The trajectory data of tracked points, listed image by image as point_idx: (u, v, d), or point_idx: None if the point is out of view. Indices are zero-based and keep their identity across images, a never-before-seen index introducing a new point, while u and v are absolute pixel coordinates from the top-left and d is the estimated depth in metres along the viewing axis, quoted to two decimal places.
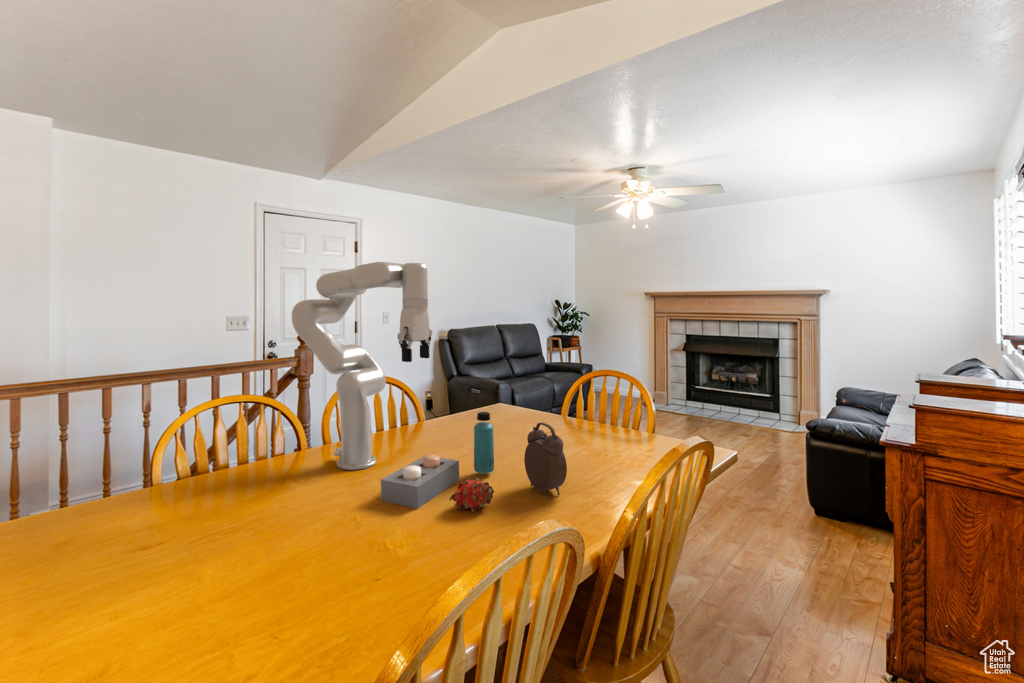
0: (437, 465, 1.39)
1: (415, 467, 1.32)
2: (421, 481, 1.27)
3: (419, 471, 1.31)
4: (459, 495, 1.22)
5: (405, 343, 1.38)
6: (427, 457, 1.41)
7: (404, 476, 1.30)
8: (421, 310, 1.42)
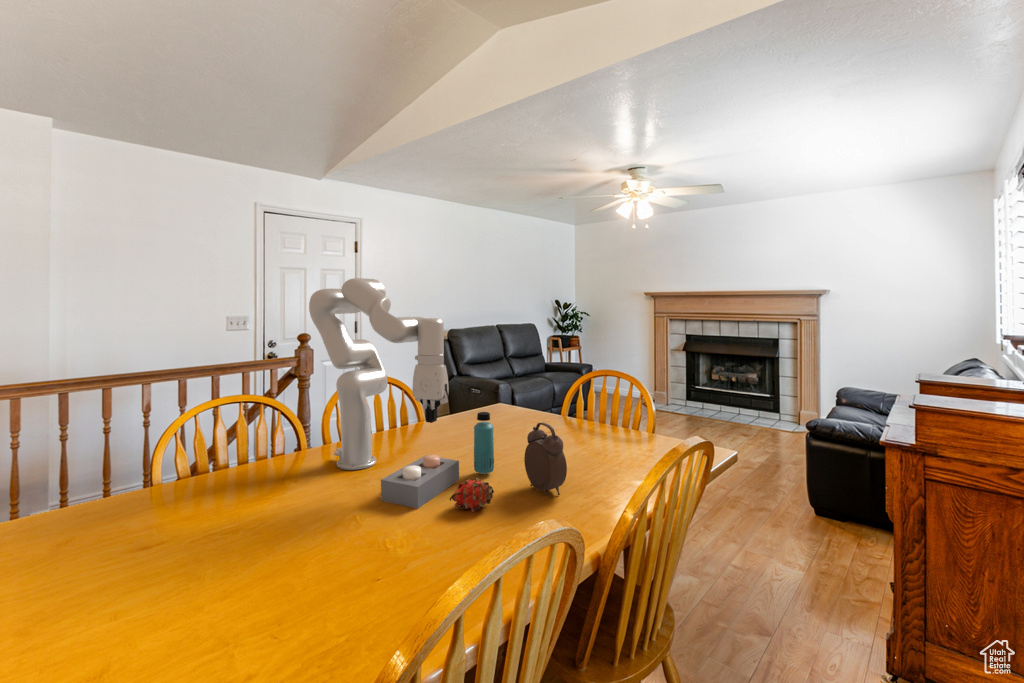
0: (437, 465, 1.39)
1: (415, 467, 1.32)
2: (421, 481, 1.27)
3: (419, 471, 1.31)
4: (459, 495, 1.22)
5: None
6: (427, 457, 1.41)
7: (404, 476, 1.30)
8: None
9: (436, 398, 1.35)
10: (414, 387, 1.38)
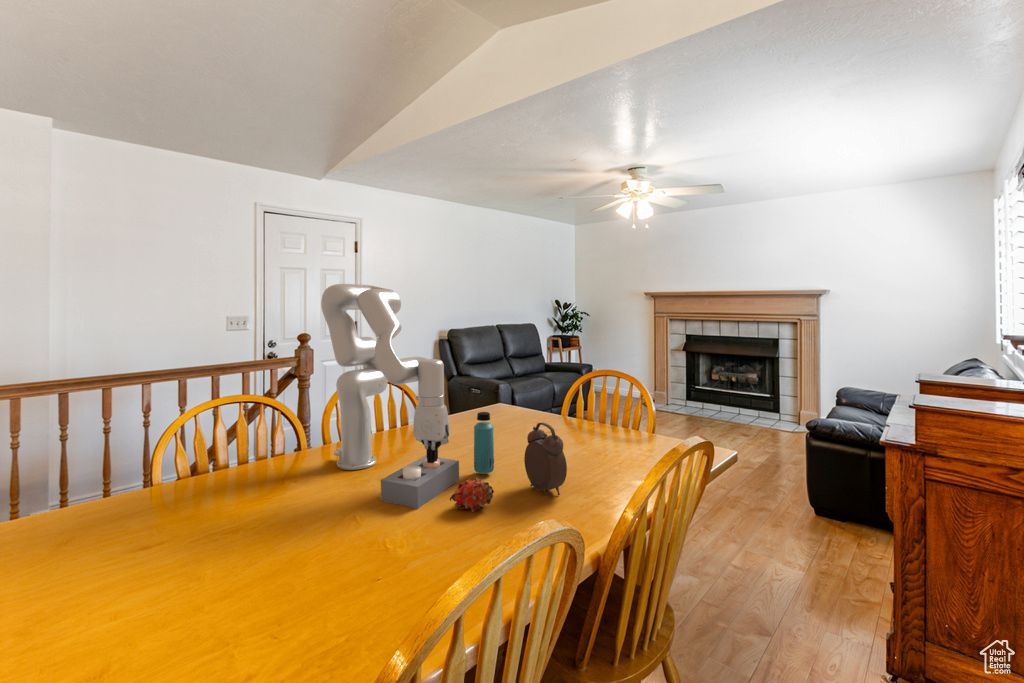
0: None
1: (415, 467, 1.32)
2: (421, 481, 1.27)
3: (419, 471, 1.31)
4: (459, 495, 1.22)
5: None
6: None
7: (404, 476, 1.30)
8: None
9: (436, 439, 1.36)
10: (415, 428, 1.39)
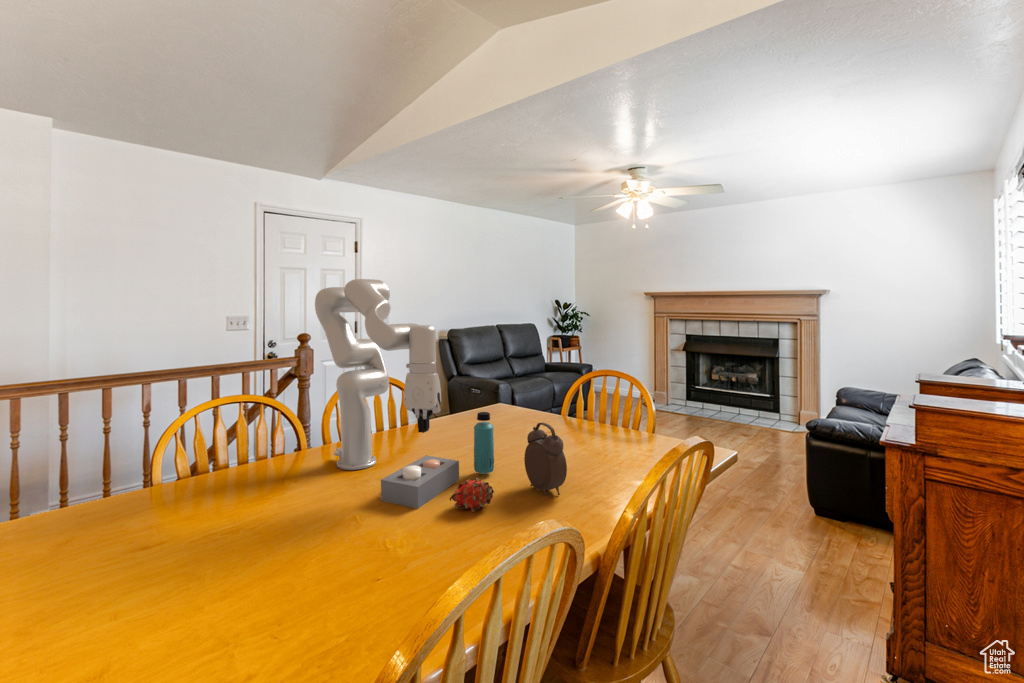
0: None
1: (415, 467, 1.32)
2: (421, 481, 1.27)
3: (419, 471, 1.31)
4: (459, 495, 1.22)
5: None
6: (427, 461, 1.41)
7: (404, 476, 1.30)
8: None
9: (428, 407, 1.31)
10: (406, 396, 1.34)
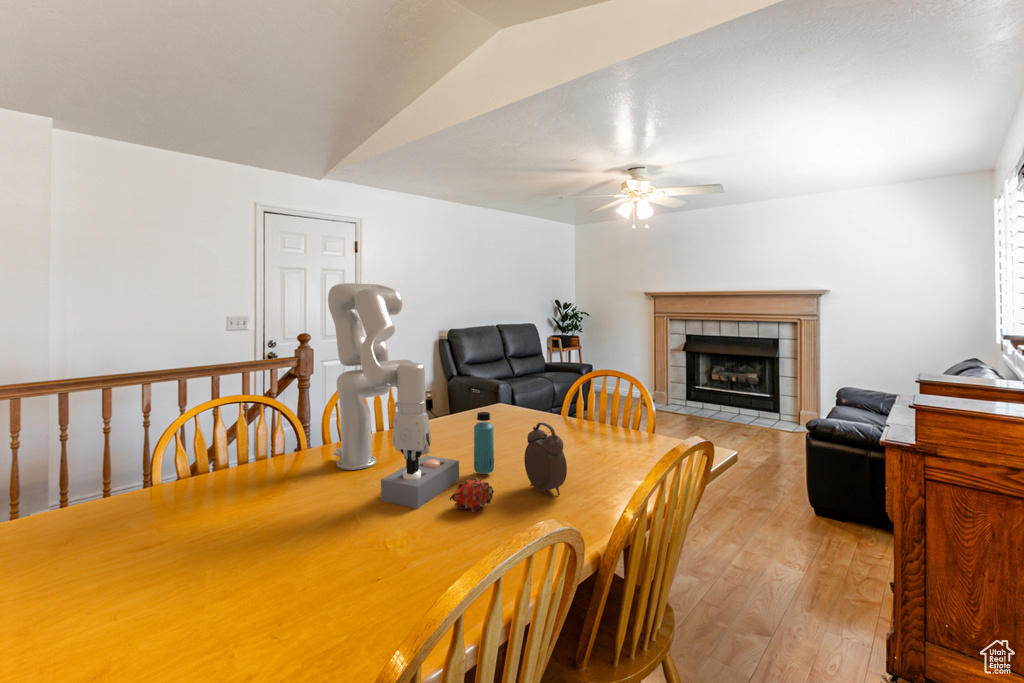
0: None
1: None
2: (421, 481, 1.27)
3: (419, 475, 1.31)
4: (459, 495, 1.22)
5: None
6: (427, 461, 1.41)
7: None
8: None
9: (416, 449, 1.27)
10: (394, 436, 1.30)
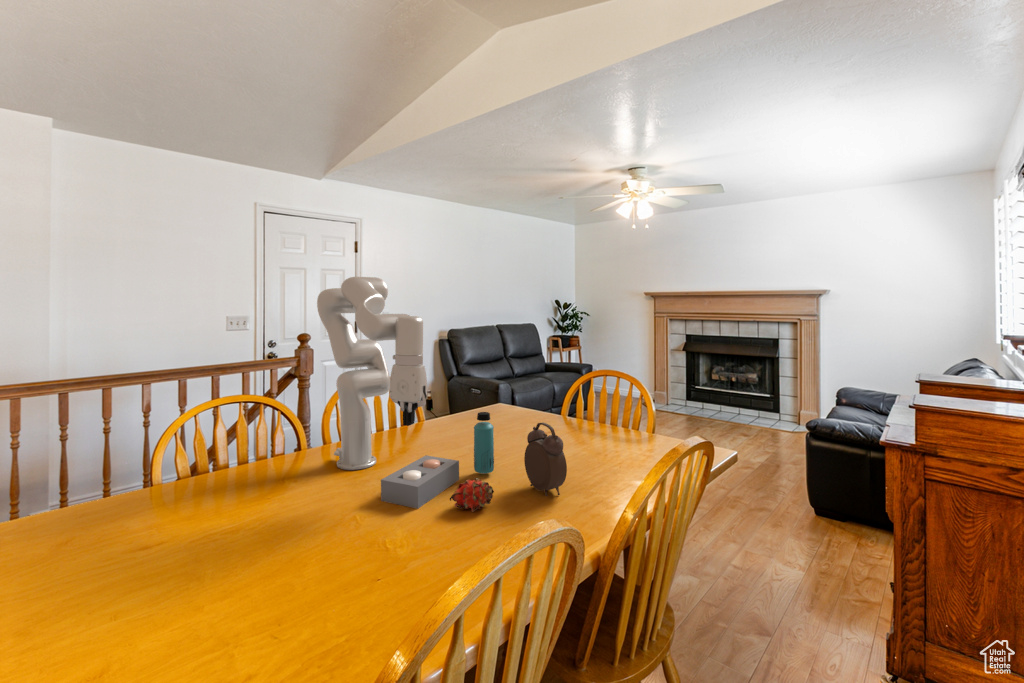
0: None
1: (415, 472, 1.33)
2: (421, 481, 1.27)
3: (419, 476, 1.31)
4: (459, 495, 1.22)
5: None
6: (427, 461, 1.41)
7: None
8: None
9: (413, 400, 1.28)
10: (391, 388, 1.31)
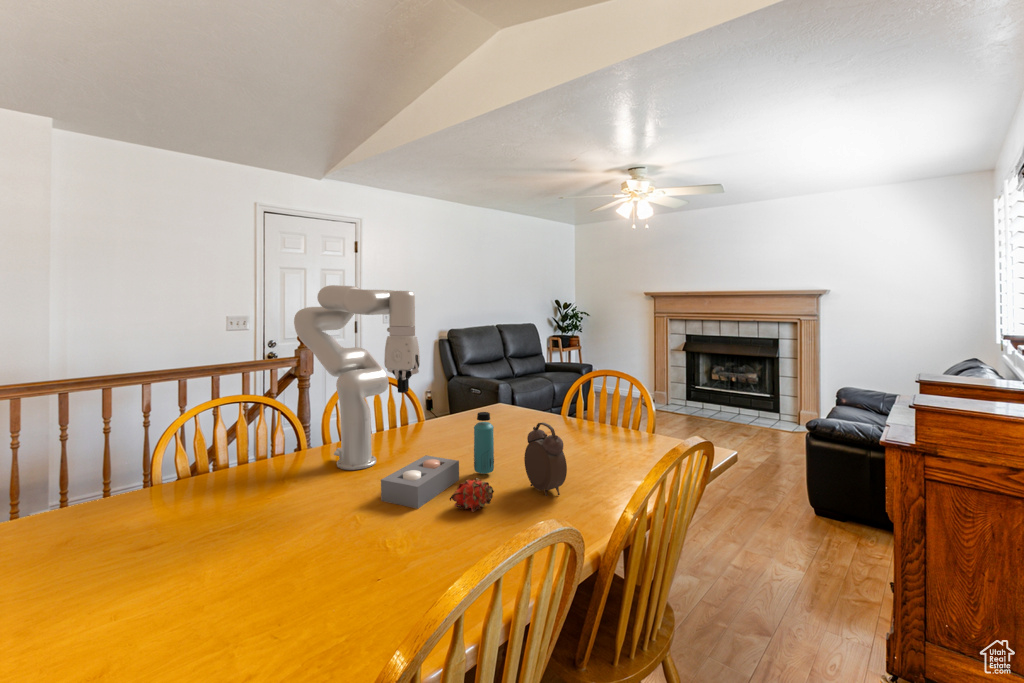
0: None
1: (415, 472, 1.33)
2: (421, 481, 1.27)
3: (419, 476, 1.31)
4: (459, 495, 1.22)
5: None
6: (427, 461, 1.41)
7: None
8: None
9: (406, 368, 1.38)
10: (386, 358, 1.41)
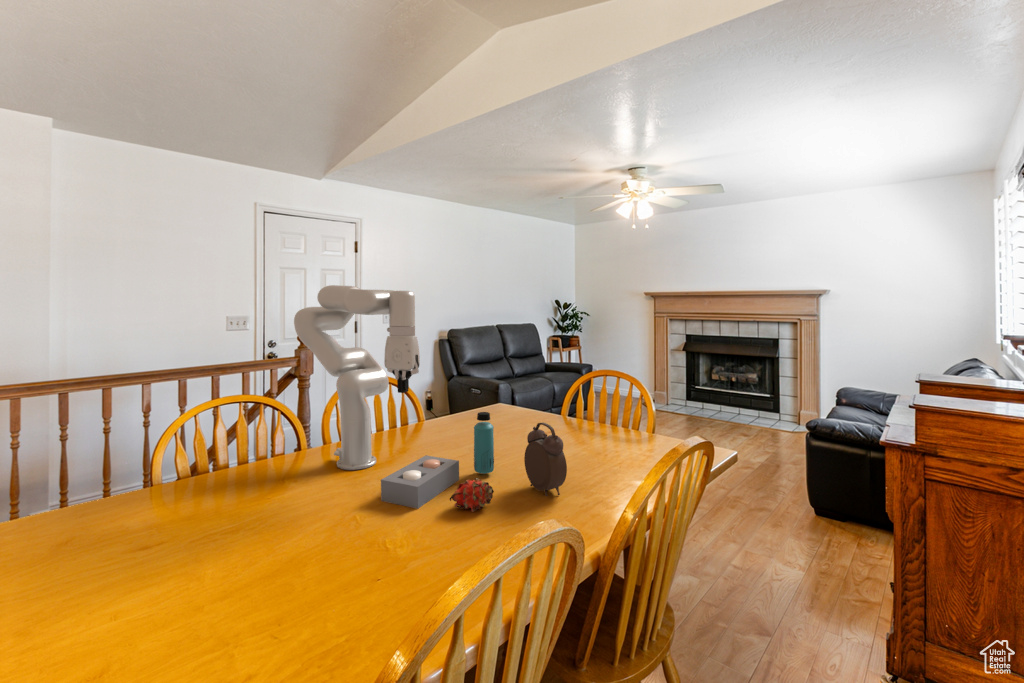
0: None
1: (415, 472, 1.33)
2: (421, 481, 1.27)
3: (419, 476, 1.31)
4: (459, 495, 1.22)
5: None
6: (427, 461, 1.41)
7: None
8: None
9: (406, 368, 1.38)
10: (386, 358, 1.41)
